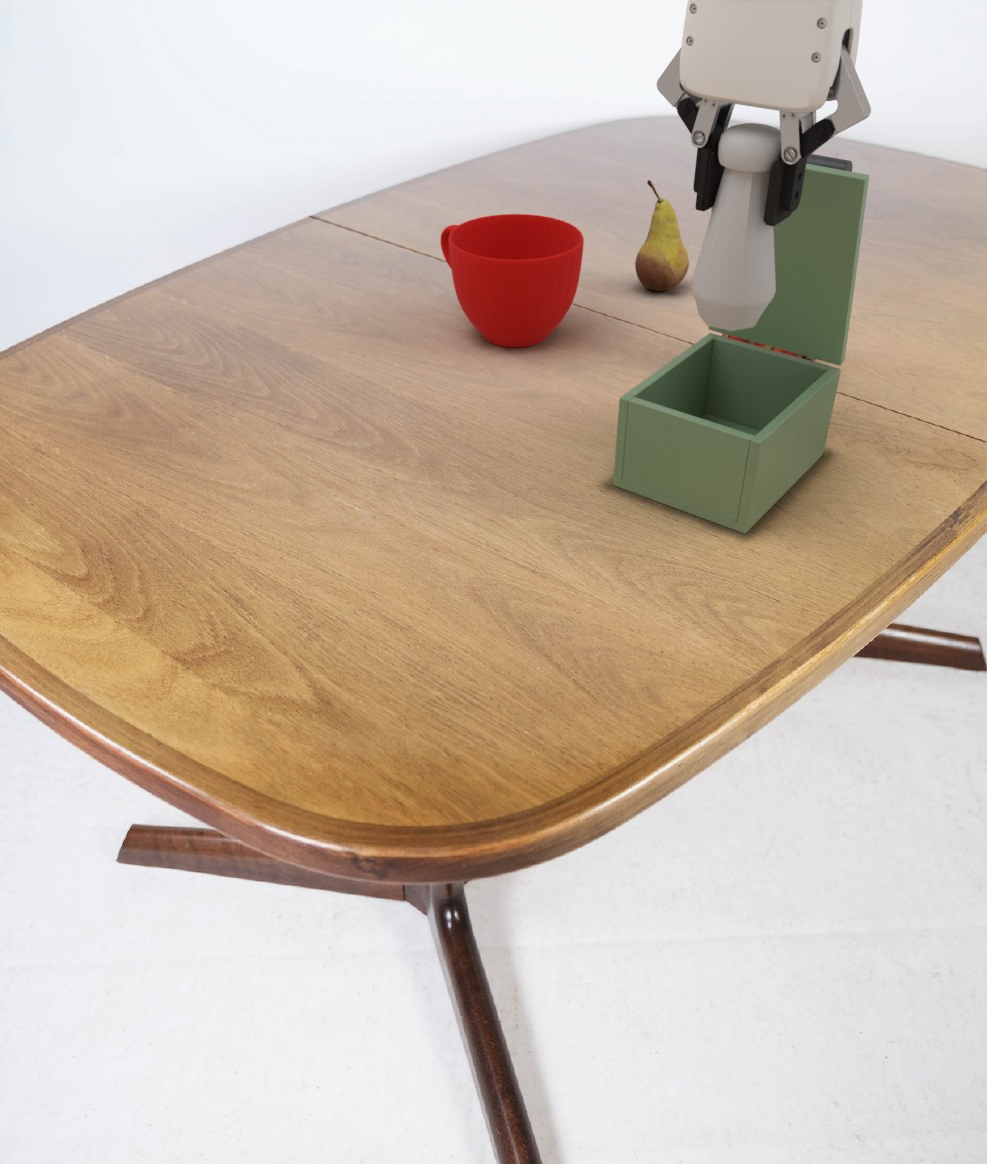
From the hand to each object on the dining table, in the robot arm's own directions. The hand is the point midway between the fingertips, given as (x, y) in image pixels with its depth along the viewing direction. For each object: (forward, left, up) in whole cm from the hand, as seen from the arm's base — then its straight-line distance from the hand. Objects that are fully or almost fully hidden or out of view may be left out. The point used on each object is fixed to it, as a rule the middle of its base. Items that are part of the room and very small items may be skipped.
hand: (743, 209), depth 72 cm
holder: (-3, -2, -22) cm, 22 cm away
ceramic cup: (+5, -34, -22) cm, 41 cm away
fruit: (-15, -38, -22) cm, 47 cm away
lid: (-7, -5, -6) cm, 11 cm away
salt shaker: (0, 0, -8) cm, 8 cm away
